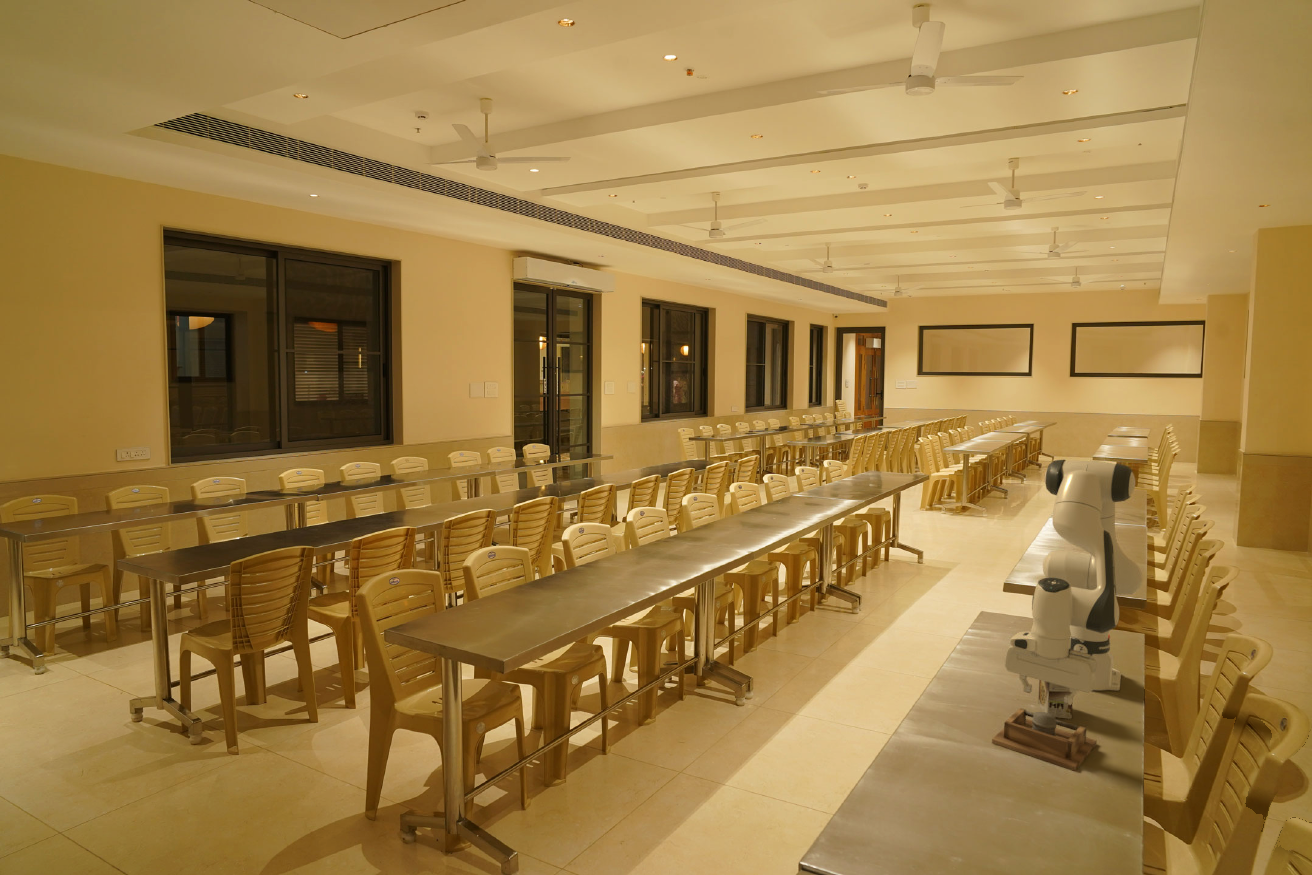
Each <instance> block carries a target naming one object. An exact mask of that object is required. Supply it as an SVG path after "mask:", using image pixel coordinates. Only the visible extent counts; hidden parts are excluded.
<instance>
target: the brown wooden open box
mask: <svg viewBox="0 0 1312 875" xmlns="http://www.w3.org/2000/svg"><path fill="white" fill-rule="evenodd" d="M1034 713H1035V712H1031V711H1029V710H1027V709H1024V708H1019V709H1017V711H1015V712H1014V713H1013V714H1012V715H1011V716H1010V717H1009V718H1008V719H1007V720H1006V721H1004V727H1003V728H1002V730H1000V731H999V732H998V733H997V734H996V735H995V736H994V737H993V738H992V739H991V744H993V745H997V746H1000V747H1003V748H1005V749H1009V750H1011V751H1015V752H1018V753H1020V754H1023V755H1027V756H1029V757H1032V758H1035V759H1037V760H1038V759H1039V760H1042V761H1045V762H1047V763H1050V764H1052V765H1056V766H1059V767H1062V768H1065V769H1068V770H1071V771H1074V772H1075V771H1077V770H1078V768H1079V767H1080V766H1081V764H1082V763H1083V762H1084V760H1085V759H1086V758H1087V757H1088V756H1089V755H1090V753H1091V752H1092V750H1093V749H1094V748H1095V747H1096V745H1097V740H1096V739H1094V738H1090V737H1087V727H1085V726H1078V725H1075V724H1072V723H1068V722H1065V721H1062V720H1060V719H1059V720H1058V719H1056V726H1059V727H1062V728H1063V727H1064V728H1066V729H1069V730H1073V731H1074V732H1070V731H1068V730H1064V729H1061V728H1058V727H1056V728H1055V733H1056V736H1053V735H1049V734H1046V733H1043V732H1040V731H1037V730H1034V729H1032V728H1033V723H1032V719H1029V718H1027V717H1031V718H1033V714H1034Z"/></svg>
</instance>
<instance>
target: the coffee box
mask: <svg viewBox="0 0 1312 875" xmlns="http://www.w3.org/2000/svg"><path fill="white" fill-rule="evenodd" d="M1038 680H1039V679H1038ZM1071 694H1072V692H1070V688H1068V687H1064V686H1061V685H1057V684H1053V683H1050V682H1046V681H1042V680H1039V683H1038V701H1037V702H1038V705H1039V706H1040V708H1041V710H1042V712H1045V713H1049V714H1051V715H1053V716H1055V717H1056V718H1060V719H1069V720H1071V719H1072V715H1073V701H1074V700H1073V701H1072V704H1071V705H1068V704H1065V703H1064V701H1065V700H1064V697H1065V696H1066V695H1071Z"/></svg>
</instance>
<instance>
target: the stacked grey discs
mask: <svg viewBox="0 0 1312 875" xmlns="http://www.w3.org/2000/svg"><path fill="white" fill-rule="evenodd" d="M1033 713H1034V714H1033V717H1031V718H1032V719H1031V720H1032V723H1033V728H1032V729H1034V730H1037V731H1040V732H1043V733H1046V734H1049V735H1053V736H1056V733H1055V728H1057V725H1056V720H1057V717H1055V716H1053V715H1051V714H1049V713H1045V712H1044V711H1035V712H1033Z"/></svg>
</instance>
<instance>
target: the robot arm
mask: <svg viewBox="0 0 1312 875" xmlns="http://www.w3.org/2000/svg"><path fill="white" fill-rule="evenodd" d="M1043 478H1044V485H1045V488H1046V490H1047V491H1048V492H1049V493H1050V494H1052V495H1054V496H1055V500H1054V506H1053V511H1052V526H1053V528H1054V530H1055V532H1056V533H1057V534H1058V535H1059V537H1061V538H1062V539H1063V540H1065V541H1066V542H1068V543H1069V544H1071V545H1074V546H1076V547H1078V548H1080V549H1082V550H1083V551H1085V552H1081V551H1074V550H1052V551H1050V552H1049V553H1048V554H1047V555H1046V556H1045V558H1044V560H1043V561H1042V562H1043V563H1042V571H1043V574H1044V577H1045V578H1041V579H1039V580H1038V581H1037V582H1036V586H1035V590H1034V592H1033V594H1032V601H1031V611H1032V612H1031V616H1032V618H1033V623H1032V627H1031V629H1030V631H1028V630H1027V631H1019V632H1017V633H1016V634H1013V636H1012V637H1010V640H1009V642H1010V643H1009V644H1010V646H1009V647H1008V648H1007V651H1006V654H1005V659H1004V667H1005V669H1006V671H1008V672H1010V673H1014V674H1017V675H1019V680H1020V681H1021V683H1022V686H1023V692H1024V693H1027V694H1031V693H1032V691H1033V689H1032V688H1033V685H1032V684H1030V683H1029V681H1028V679H1027V678H1032V679H1035V680H1042V681H1046V682H1050V683H1053V684H1057V685H1061V686H1064V687H1068V688H1070V692H1072V694H1071V695H1066V696H1065V697H1064V700H1065V701H1064V703H1065V704H1068V705H1071V704H1072V701H1074V696H1075V695H1076V694H1077V693H1078V692H1083V693H1087V694H1089V693H1091V692H1092V691H1120V689H1121V678H1122V677H1121V676H1122V674H1121V671H1119V670H1118V669H1116V668H1114V655H1113V654H1112V653H1111V651H1110V650H1111V648H1110V646H1111V640H1110V638H1111V635H1110V634H1109V633H1110V632H1109V631H1111V630H1113V629H1115V628H1116V627H1117V625H1118V622H1119V619H1120V607H1119V603H1118V600H1117V599H1118V598H1117V596H1120V595H1121V596H1129V595H1131V596H1132V595H1134V594H1135V593H1137V592H1138V591H1139V589H1140V587H1141V586H1142V584H1143V573H1142V570H1141V569H1140V567H1139V564H1137V563H1136V562H1135V561H1133V559H1131V558H1129V557H1128V555H1127V554H1125V553H1124V551H1123V550H1122V548H1121V547H1120V545H1119V543H1118V540H1117V536H1116V503H1118V502H1119V503H1121V502H1125V501H1126V500H1129V499H1130V498H1131V497H1132V494H1133V493H1134V492H1135V488H1136V478H1135V475H1134V471H1133V470H1132V468H1131V467H1130V466H1128V465H1125V464H1122V463H1112V462H1106V461H1099V460H1077V459H1076V460H1075V459H1074V460H1073V459H1072V460H1066V459H1056V460H1053V461H1051V462H1050V463H1049V464H1048V465H1047V468H1046V470H1045V473H1044V477H1043ZM1072 705H1073V704H1072Z"/></svg>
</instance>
